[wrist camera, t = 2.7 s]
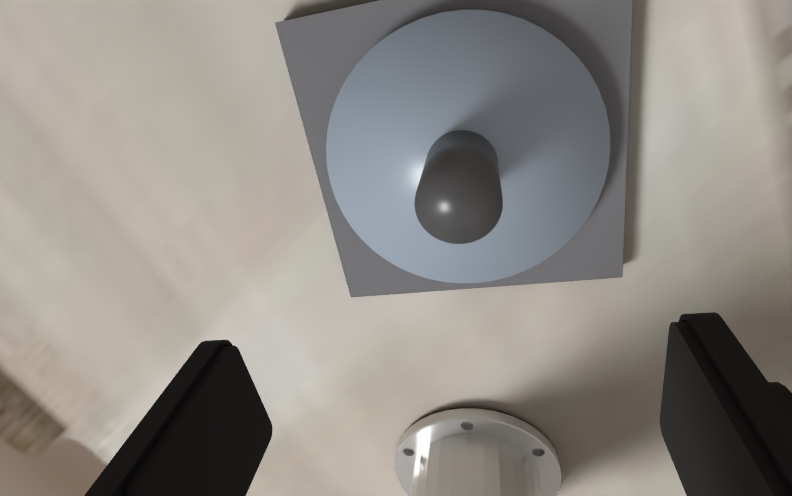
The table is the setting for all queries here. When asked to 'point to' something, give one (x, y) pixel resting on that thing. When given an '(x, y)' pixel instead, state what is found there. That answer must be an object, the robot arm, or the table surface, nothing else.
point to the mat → (405, 3)
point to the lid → (468, 146)
